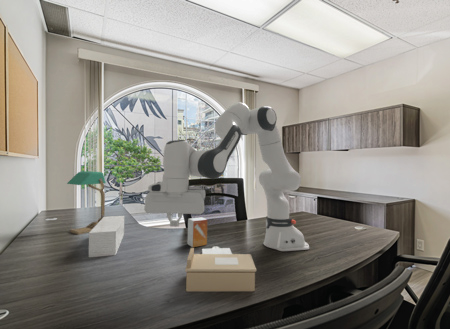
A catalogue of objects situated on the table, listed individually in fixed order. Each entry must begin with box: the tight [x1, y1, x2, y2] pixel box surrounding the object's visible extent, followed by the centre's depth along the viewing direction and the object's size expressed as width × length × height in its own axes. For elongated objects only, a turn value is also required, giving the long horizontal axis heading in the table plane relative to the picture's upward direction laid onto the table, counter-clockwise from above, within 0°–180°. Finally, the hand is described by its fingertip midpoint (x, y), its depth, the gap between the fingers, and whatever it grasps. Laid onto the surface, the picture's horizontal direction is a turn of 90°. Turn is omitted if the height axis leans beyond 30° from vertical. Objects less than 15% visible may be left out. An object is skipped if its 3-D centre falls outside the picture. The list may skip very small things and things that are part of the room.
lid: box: [185, 247, 257, 273], centre depth 83 cm, size 23×13×3 cm, turn 92°
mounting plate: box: [201, 246, 233, 254], centre depth 105 cm, size 18×13×2 cm
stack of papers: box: [88, 215, 125, 258], centre depth 119 cm, size 32×11×11 cm, turn 17°
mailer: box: [185, 272, 256, 292], centre depth 83 cm, size 22×13×6 cm, turn 92°
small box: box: [187, 216, 208, 248], centre depth 121 cm, size 8×6×13 cm
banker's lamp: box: [66, 170, 106, 235], centre depth 143 cm, size 16×21×35 cm
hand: (174, 226), depth 82 cm, fingers closed
